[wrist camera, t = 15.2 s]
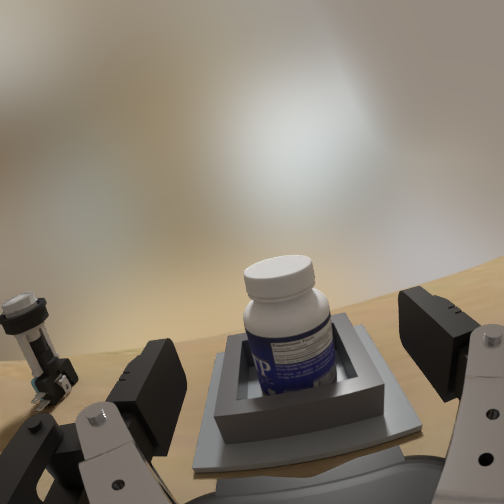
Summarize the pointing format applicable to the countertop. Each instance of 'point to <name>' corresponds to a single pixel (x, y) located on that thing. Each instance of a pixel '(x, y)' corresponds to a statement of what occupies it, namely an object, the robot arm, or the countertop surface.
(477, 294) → the countertop surface
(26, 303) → the push button
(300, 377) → the pill bottle
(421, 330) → the robot arm
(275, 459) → the socket
